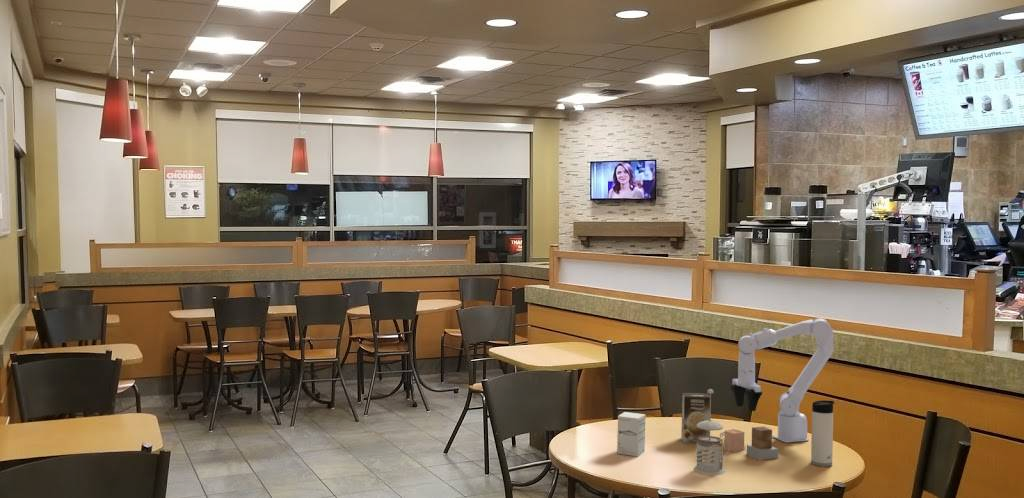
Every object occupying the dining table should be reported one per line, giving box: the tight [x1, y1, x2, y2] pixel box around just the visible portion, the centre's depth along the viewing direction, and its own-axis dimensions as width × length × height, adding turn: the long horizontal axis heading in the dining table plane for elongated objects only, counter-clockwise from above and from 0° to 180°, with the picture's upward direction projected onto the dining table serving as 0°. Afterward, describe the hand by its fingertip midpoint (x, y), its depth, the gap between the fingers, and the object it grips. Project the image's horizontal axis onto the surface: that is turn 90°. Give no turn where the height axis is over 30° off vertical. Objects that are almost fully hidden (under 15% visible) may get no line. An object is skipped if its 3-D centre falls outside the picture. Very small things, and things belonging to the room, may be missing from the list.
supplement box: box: [616, 411, 647, 458], centre depth 278 cm, size 7×7×13 cm
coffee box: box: [680, 392, 711, 444], centre depth 293 cm, size 9×6×16 cm
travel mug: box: [810, 400, 835, 467], centre depth 266 cm, size 6×7×20 cm
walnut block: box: [751, 426, 773, 449], centre depth 274 cm, size 4×4×6 cm
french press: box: [692, 388, 732, 476], centre depth 258 cm, size 10×12×25 cm
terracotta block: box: [723, 428, 745, 452], centre depth 283 cm, size 4×4×6 cm
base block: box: [746, 444, 779, 461], centre depth 275 cm, size 7×7×3 cm
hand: (746, 408), depth 299 cm, fingers open, 7 cm apart
